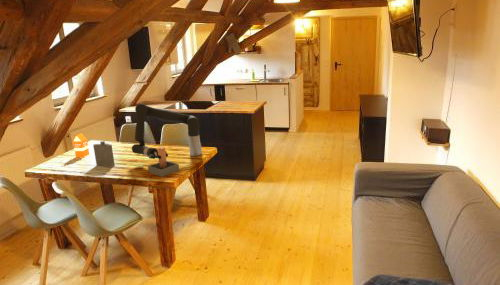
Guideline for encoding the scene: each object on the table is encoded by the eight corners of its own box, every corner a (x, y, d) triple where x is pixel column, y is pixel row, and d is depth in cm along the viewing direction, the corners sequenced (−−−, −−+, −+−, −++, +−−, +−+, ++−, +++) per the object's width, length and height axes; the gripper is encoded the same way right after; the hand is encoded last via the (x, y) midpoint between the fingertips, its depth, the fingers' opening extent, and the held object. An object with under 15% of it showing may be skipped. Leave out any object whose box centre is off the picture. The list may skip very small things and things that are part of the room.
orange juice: (89, 154, 326) (85, 132, 320) (84, 157, 317) (80, 135, 312) (81, 154, 326) (77, 132, 321) (75, 157, 318) (71, 135, 312)
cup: (163, 165, 279) (162, 146, 275) (168, 166, 275) (166, 147, 271) (157, 167, 275) (155, 148, 270) (162, 169, 271) (160, 149, 267)
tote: (166, 166, 287) (165, 160, 286) (179, 170, 277) (178, 164, 275) (148, 172, 275) (147, 166, 274) (161, 176, 265) (160, 170, 264)
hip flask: (95, 165, 294) (91, 142, 289) (98, 164, 298) (95, 140, 293) (113, 166, 291) (109, 142, 285) (116, 165, 295) (112, 141, 289)
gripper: (142, 150, 275) (155, 154, 265) (158, 145, 286) (171, 149, 275) (143, 159, 277) (156, 163, 267) (159, 154, 288) (172, 158, 277)
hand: (164, 156), depth 271 cm, fingers closed on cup, 5 cm apart
